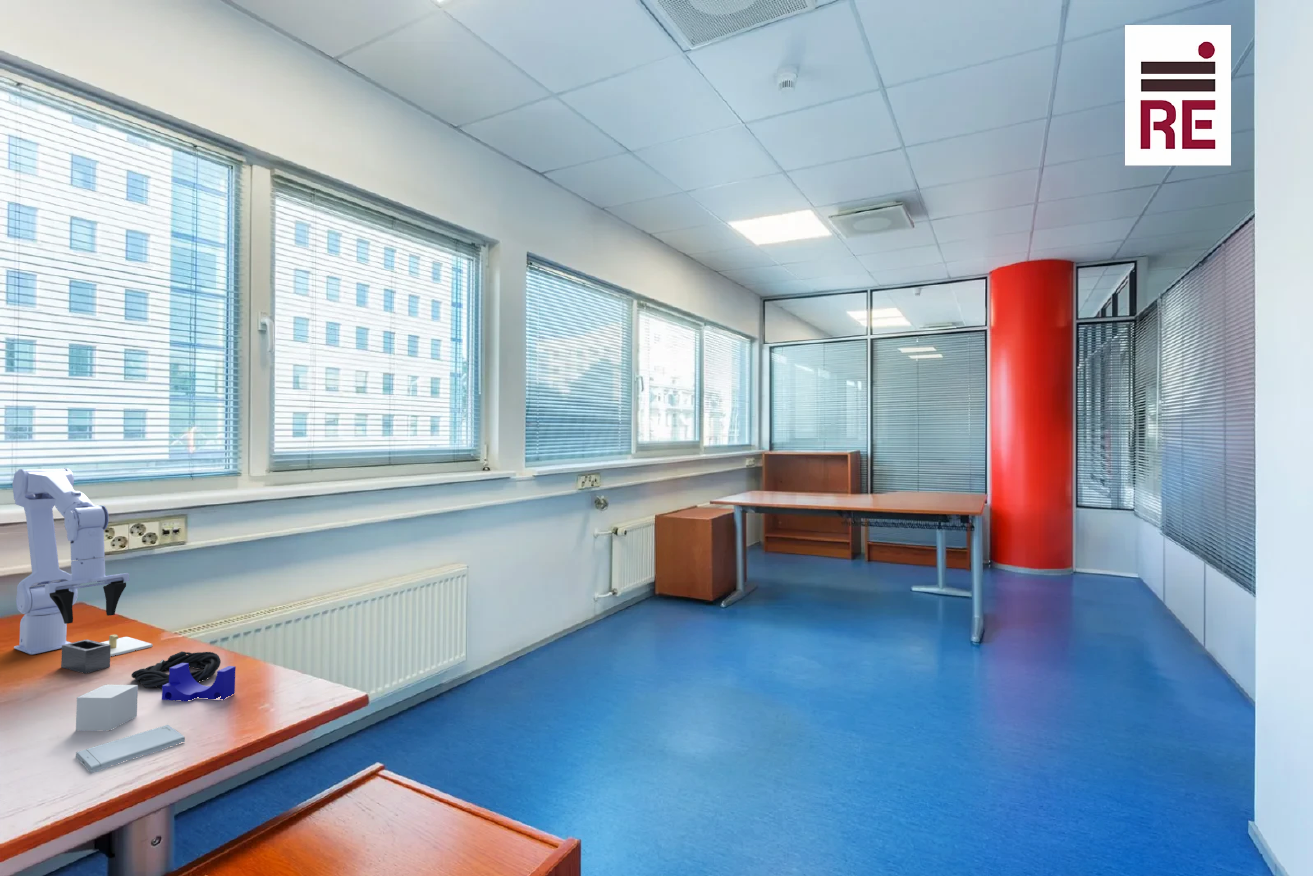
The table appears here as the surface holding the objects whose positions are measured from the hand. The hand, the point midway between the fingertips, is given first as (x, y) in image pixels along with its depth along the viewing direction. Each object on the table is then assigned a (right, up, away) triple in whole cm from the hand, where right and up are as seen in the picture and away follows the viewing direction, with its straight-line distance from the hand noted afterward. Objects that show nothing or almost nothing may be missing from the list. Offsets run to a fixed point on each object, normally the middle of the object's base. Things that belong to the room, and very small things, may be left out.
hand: (90, 619), depth 141 cm
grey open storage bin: (0, -11, -1) cm, 11 cm away
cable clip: (+36, -12, -15) cm, 40 cm away
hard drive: (+40, -12, -36) cm, 55 cm away
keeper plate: (-5, -11, +11) cm, 16 cm away
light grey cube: (+28, -12, -27) cm, 40 cm away
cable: (+24, -12, -5) cm, 27 cm away
